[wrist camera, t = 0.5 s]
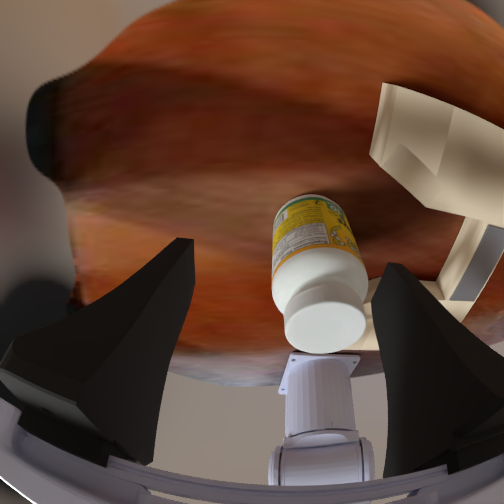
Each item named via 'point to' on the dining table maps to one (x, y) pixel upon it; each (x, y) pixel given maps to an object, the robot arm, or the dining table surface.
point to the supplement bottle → (318, 275)
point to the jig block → (444, 188)
